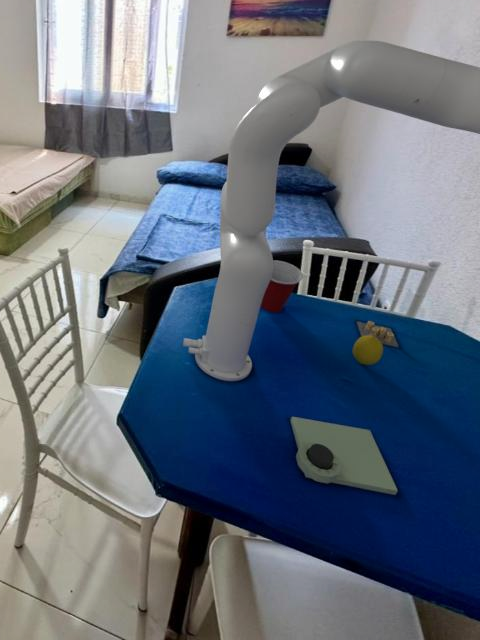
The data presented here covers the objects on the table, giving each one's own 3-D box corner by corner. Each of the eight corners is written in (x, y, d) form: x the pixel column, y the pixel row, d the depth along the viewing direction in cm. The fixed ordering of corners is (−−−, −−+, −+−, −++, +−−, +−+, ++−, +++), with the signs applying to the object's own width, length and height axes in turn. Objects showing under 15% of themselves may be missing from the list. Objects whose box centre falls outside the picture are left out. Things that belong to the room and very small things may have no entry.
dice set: (391, 342, 101) (394, 336, 100) (368, 337, 103) (371, 331, 102) (386, 330, 106) (389, 324, 105) (364, 326, 107) (367, 320, 106)
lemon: (379, 373, 92) (392, 346, 88) (352, 369, 92) (364, 342, 89) (369, 357, 96) (382, 330, 93) (344, 353, 97) (355, 327, 93)
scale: (299, 482, 68) (304, 471, 67) (283, 419, 80) (287, 408, 78) (398, 502, 66) (406, 491, 64) (367, 434, 77) (373, 423, 76)
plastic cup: (254, 315, 110) (264, 278, 104) (247, 294, 119) (256, 258, 113) (296, 320, 108) (309, 282, 102) (286, 298, 118) (297, 262, 112)
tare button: (310, 467, 68) (313, 460, 67) (305, 448, 71) (308, 441, 70) (333, 471, 67) (336, 464, 67) (327, 452, 71) (330, 445, 70)
